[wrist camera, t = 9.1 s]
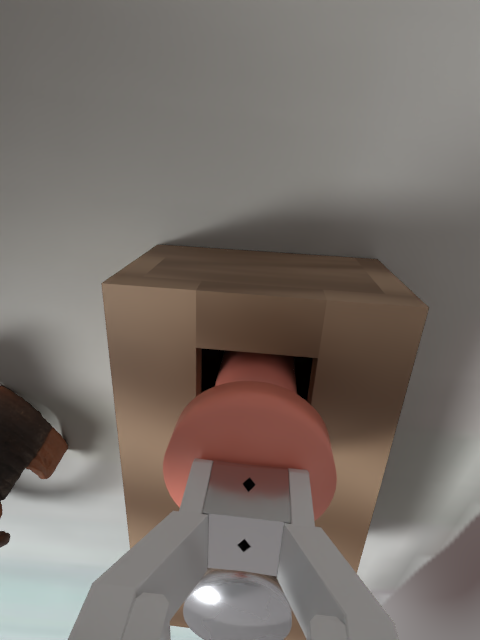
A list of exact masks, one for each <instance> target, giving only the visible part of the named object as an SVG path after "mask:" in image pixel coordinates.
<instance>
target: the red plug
mask: <svg viewBox="0 0 480 640" xmlns="http://www.w3.org/2000/svg"><path fill="white" fill-rule="evenodd" d="M195 458H198V459H205V460H212V461H214V460H216V461H224V462H231V463H239V464H247V465H259V466H270V467H280V468H291V469H302V470H308V472H309V477H310V486H311V495H312V504H313V512H314V521H315V520H317V519H318V518H319V517H320V516H321V515H322V514H323V513H324V512H325V510H326V509H327V508H328V506H329V505H330V503H331V501H332V499H333V497H334V493H335V490H336V483H337V475H336V468H335V463H334V458H333V453H332V448H331V442H330V438H329V434H328V430H327V428H326V425H325V423H324V421H323V419H322V418H321V416H320V415H319V413H318V412H317V411H316V410H315V409H314V407H313V406H311V405H310V404H309V403H308V402H307V401H306V400H304V399H303V398H302V397H300V396H299V395H297V387H296V377H295V366H294V356H287V355H275V354H263V353H251V352H240V351H228V350H224V354H223V358H222V361H221V365H220V369H219V372H218V376H217V380H216V384H215V387H212V388H210V389H208V390H206V391H204V392H202V393H201V394H199V395H198V396H196V397H195V398H194V399H193V400H192V401H191V402H189V404H188V405H187V406H186V407H185V408H184V410H183V411H182V413H181V414H180V416H179V418H178V421H177V423H176V426H175V429H174V431H173V434H172V437H171V439H170V442H169V444H168V447H167V450H166V452H165V456H164V461H163V476H164V481H165V484H166V487H167V489H168V492H169V494H170V496H171V497H172V499H173V500H174V502H175V503H176V504H177V505H178V506H179V508H180V506H181V502H182V498H183V495H184V491H185V488H186V484H187V480H188V477H189V473H190V470H191V466H192V463H193V461H194V459H195Z"/></svg>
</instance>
